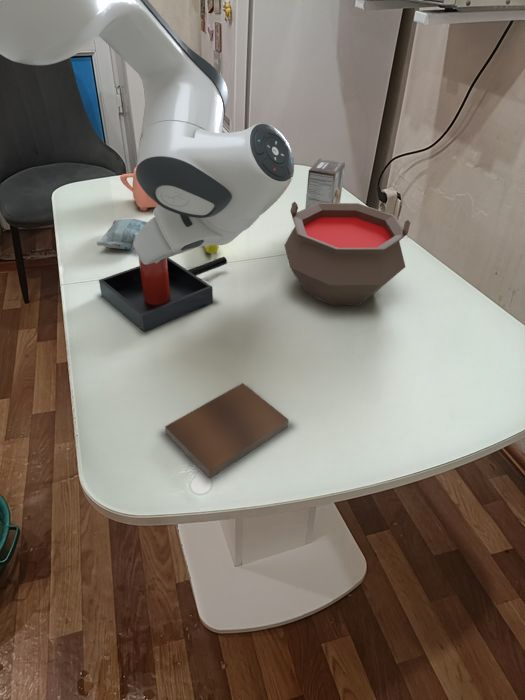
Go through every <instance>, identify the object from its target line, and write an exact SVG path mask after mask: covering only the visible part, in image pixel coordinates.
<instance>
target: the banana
mask: <svg viewBox="0 0 525 700" xmlns="http://www.w3.org/2000/svg"><path fill="white" fill-rule="evenodd" d="M203 247H204V249H205V252H206V253H207V254H210V255H214V254H215V253H217V252H218V251H219V247H220V245H211V246H203Z"/></svg>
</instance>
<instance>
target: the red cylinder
mask: <svg viewBox="0 0 525 700" xmlns="http://www.w3.org/2000/svg"><path fill="white" fill-rule="evenodd" d="M138 264H139V265H138V266H140V273H141V281H142V289H143V297H144V301H145V302H146V303H148V304H150V305H161V304H165V303H166V302H168V301H169V300H170V288H169V276H168V265H167V258H166V259H164V261H161V262H158V263H155V262H154V263H151V264H148V265H145V264H143V263H142V262H141V260H140V259H139V258H138Z"/></svg>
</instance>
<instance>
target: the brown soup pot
mask: <svg viewBox="0 0 525 700" xmlns="http://www.w3.org/2000/svg"><path fill="white" fill-rule="evenodd" d="M298 209H299V205H298V203H297V202H296V201H294V202H292V203H291V207H290V211H289V213H290V215H291V218H292V220H293V224H294V227H293V229H292V231H291V233H290V235H289V236H288V238H287V239H286V241H285V243H284V249H285V254H286V257H287V261H288V266H289V269H290V270H291V272H292V273H293V274H294V276H295V277H296V279H297V280H298V281H299V283H300V284H301V286H302V287H303V289H304V290H305V291H306V293H307V295H309V296H310V297H313V298H315V299H317V300H319V301H321V302H324V303H326V304H328V305H330V306H358V305H361V304H362V303H364V302H365V301H366V300H368V299H369V298H370V297H372V296H373V295H374V294H375V293H376V292H378V291H379V290H380V289H381V288H383V287H384V286H385V285H386V284H387V283H389V282H390V281H391V280H392V279H393V278H395V277H396V276H397V275H398V274H399V273H400V272H401V271H403V270H404V269H405V268H406V262H405V259H404V255H403V251H402V246H401V240H402V239H403V238H405V237H406V236H407V235H408V234H409V230H410V225H411V222H410V220H409V219H407V220H405V221H404V224H403V226H402V224H401V223H400V221H399V220H398V219H397V217H396V216H395V214H392V213H388V212H386V211H383V210H380V209H376V208H373V207H370V206H367V205H365V204H361V203H358V202H340V203H316V204H314V205H312V206H310V207H308V208H305V207H304V208H303V209H301V210H298Z"/></svg>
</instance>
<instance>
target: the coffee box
mask: <svg viewBox="0 0 525 700" xmlns="http://www.w3.org/2000/svg"><path fill="white" fill-rule="evenodd" d="M345 167H346V161H342V160H341V161H340V160H333V159H326V158H319V159H318V160H316V162H315V163H314V164H313V165H312V166H311V167H310V168H309V170H308V175H307V185H306V197H305V207H304V209H305V208H308V207H310V206H312V205H314V204H316V203H341V199H342V198H341V197H342V191H343V190H342V189H343V182H344V175H345Z"/></svg>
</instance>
